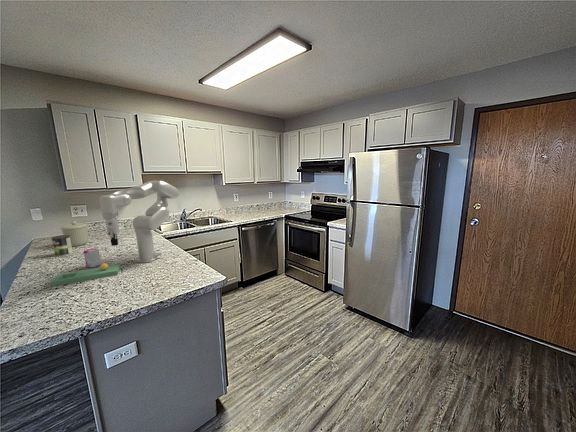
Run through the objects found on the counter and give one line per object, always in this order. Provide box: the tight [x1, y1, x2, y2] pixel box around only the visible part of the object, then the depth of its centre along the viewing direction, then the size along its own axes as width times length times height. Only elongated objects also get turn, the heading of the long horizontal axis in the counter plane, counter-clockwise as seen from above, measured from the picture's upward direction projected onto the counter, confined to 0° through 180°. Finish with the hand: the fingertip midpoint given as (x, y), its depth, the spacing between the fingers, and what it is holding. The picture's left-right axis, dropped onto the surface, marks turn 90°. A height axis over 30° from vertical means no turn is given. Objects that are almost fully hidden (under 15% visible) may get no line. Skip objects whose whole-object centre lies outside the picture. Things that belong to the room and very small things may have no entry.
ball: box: [99, 262, 109, 270], centre depth 144 cm, size 4×4×4 cm
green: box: [49, 263, 121, 287], centre depth 141 cm, size 30×12×2 cm, turn 119°
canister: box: [60, 220, 89, 247], centre depth 205 cm, size 18×18×21 cm
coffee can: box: [50, 235, 74, 258], centre depth 180 cm, size 10×10×14 cm
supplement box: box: [83, 248, 102, 269], centre depth 156 cm, size 6×6×12 cm
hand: (114, 245), depth 145 cm, fingers closed
